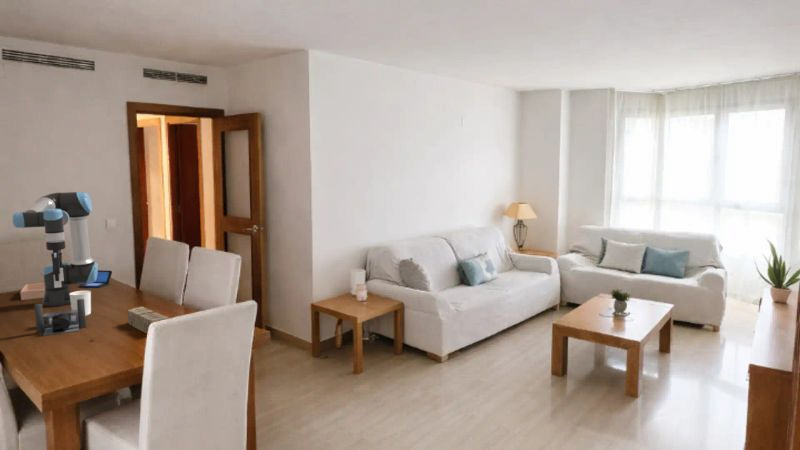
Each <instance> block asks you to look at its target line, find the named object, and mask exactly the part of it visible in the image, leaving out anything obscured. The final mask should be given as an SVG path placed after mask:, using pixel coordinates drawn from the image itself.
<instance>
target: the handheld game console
mask: <svg viewBox="0 0 800 450" xmlns="http://www.w3.org/2000/svg"><path fill="white" fill-rule="evenodd" d="M112 274H113V271H112V270H102V269H101V270H100V269H98V274H97V279H96V281H95V282H93V283H87V284H86V283H85V284H78V288H81V289H82V288H83V289H87V288H88V289H101V288H104V286H105V287H107V286H109V285H110V280H111V277H112Z"/></svg>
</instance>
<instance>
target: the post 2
mask: <svg viewBox="0 0 800 450" xmlns="http://www.w3.org/2000/svg"><path fill="white" fill-rule="evenodd" d="M77 307H78V320H79V329H85V328H87V320H86V317H87V316H85V304H84V299H78V300H77Z"/></svg>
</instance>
